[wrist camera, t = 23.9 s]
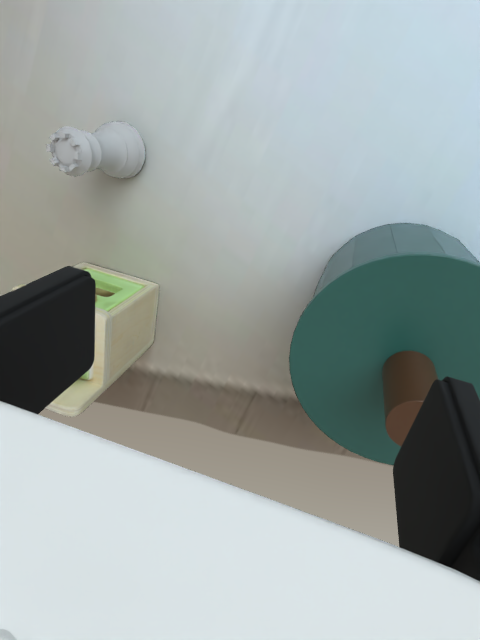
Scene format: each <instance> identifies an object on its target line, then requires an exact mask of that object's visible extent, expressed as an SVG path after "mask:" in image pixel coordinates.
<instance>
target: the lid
mask: <svg viewBox="0 0 480 640" xmlns="http://www.w3.org/2000/svg"><path fill="white" fill-rule="evenodd" d="M289 363H290V374H291V379H292V384H293V387H294V390H295V393H296V395H297V397H298V399H299V401H300V403H301V405H302V407H303V409H304V410H305V412H306V413H307V415H308V416H309V418H310V419H311V420H312V421H313V422H314V423H315V425H316V426H317V427H318V428H319V429H320V430H321V431H323V432H324V433H325V434H326V435H327V436H328V437H329V438H331V439H332V440H334V441H335V442H336V443H338V444H339V445H341V446H343V447H344V448H346V449H348V450H350V451H351V452H354V453H356V454H358V455H360V456H363V457H365V458H368V459H371V460H374V461H377V462H381V463H385V464H390V465H394V462H395V459H396V456H397V454H398V452H399V450H400V448H401V446H402V444H403V442H404V440H405V438H406V436H407V434H408V432H409V430H410V428H411V426H412V424H413V422H414V420H415V418H416V416H417V414H418V412H419V410H420V408H421V406H422V404H423V402H424V400H425V398H426V396H427V394H428V392H429V390H430V388H431V386H432V384H433V382H434V381H435V380H436V379H438V380H441V381H442V380H443V379H444V378H445V377H447V376H448V377H451V378H455V379H458V380H462V381H465V382H468V383H472V384H473V386H474V388H475V390H476V393H477V395H478V397H479V399H480V264H479V263H476V262H473V261H471V260H468V259H465V258H462V257H457V256H453V255H449V254H443V253H433V252H405V253H397V254H390V255H386V256H382V257H378V258H374V259H371V260H368V261H366V262H363V263H361V264H358V265H356V266H354V267H352V268H350V269H348V270H346V271H345V272H343V273H341V274H340V275H338V276H337V277H335V278H334V279H333V280H331V281H330V282H328V283H327V284H326V285H325V286H324V287H323V288H322V289H321V290H320V291H319V292H318V293H317V294H316V295H315V296H314V297H313V299H312V300H311V301H310V302H309V304H308V305H307V307H306V308H305V310H304V311H303V313H302V315H301V316H300V319H299V321H298V323H297V326H296V328H295V331H294V334H293V338H292V342H291V346H290V356H289Z"/></svg>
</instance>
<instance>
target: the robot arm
mask: <svg viewBox="0 0 480 640" xmlns="http://www.w3.org/2000/svg"><path fill="white" fill-rule="evenodd" d="M95 294H96V283H95V280H94V279H93V278H91V274H90V273H89V272H88V271H85V270H81V269H78V268H74V267H71V266H67V267H64V268H62V269H60V270H58V271H55V272H53V273H51V274H49V275H47V276H44V277H42V278H40V279H38V280H36V281H33V282H31V283H29V284H27V285H24V286H22V287H20V288H18V289H16V290H13V291H11V292H9V293H7V294H5V295H2V296H0V640H480V399H479V397H478V395H477V393H476V390H475V388H474V386H473V384H472V383H468V382H465V381H462V380H458V379H455V378H451V377H448V376H447V377H445V378H444V379H443V380H442V381H441V380H438V379H436V380H435V381H434V382H433V384H432V386H431V388H430V390H429V392H428V394H427V396H426V398H425V400H424V402H423V404H422V406H421V408H420V410H419V412H418V414H417V416H416V418H415V420H414V422H413V424H412V426H411V428H410V430H409V432H408V434H407V436H406V438H405V440H404V442H403V444H402V446H401V448H400V450H399V452H398V454H397V456H396V459H395V462H394V467H393V476H394V488H395V500H396V511H397V523H398V534H399V546H400V547H398V546H395V545H393V544H390V543H388V542H385V541H382V540H380V539H377V538H374V537H371V536H369V535H366V534H363V533H361V532H358V531H355V530H353V529H350V528H347V527H345V526H342V525H339V524H336V523H334V522H331V521H328V520H326V519H323V518H320V517H318V516H315V515H312V514H309V513H306V512H304V511H301V510H299V509H296V508H293V507H290V506H288V505H285V504H282V503H280V502H277V501H274V500H271V499H269V498H266V497H263V496H261V495H258V494H255V493H253V492H250V491H247V490H244V489H242V488H238V487H236V486H233V485H231V484H228V483H225V482H222V481H219V480H217V479H214V478H211V477H208V476H206V475H203V474H200V473H197V472H195V471H192V470H189V469H186V468H183V467H181V466H178V465H175V464H173V463H170V462H167V461H164V460H162V459H159V458H156V457H153V456H151V455H148V454H145V453H142V452H140V451H137V450H134V449H131V448H129V447H126V446H123V445H120V444H118V443H115V442H112V441H109V440H107V439H104V438H101V437H99V436H96V435H93V434H90V433H88V432H85V431H82V430H79V429H77V428H74V427H71V426H68V425H66V424H62V423H60V422H57V421H55V420H52V419H49V418H46V417H44V416H41V415H38V414H39V413H40V412H41V411H42V410H43V409H44V408H46V407H47V406H48V405H49V404H50V403H51V402H52V401H54V400H55V399H56V398H57V397H58V396H59V395H61V394H62V393H63V392H64V391H65V390H66V389H68V388H69V387H70V386H71V385H72V384H73V383H74V382H76V381H77V380H78V379H79V378H80V377H81V376H83V375H84V374H85V373H86V372H87V371H88V370H89V369H90V368H91V367H92V365H93V362H94V357H95Z"/></svg>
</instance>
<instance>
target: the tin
mask: <svg viewBox="0 0 480 640" xmlns="http://www.w3.org/2000/svg"><path fill="white" fill-rule="evenodd" d="M405 252H433V253H443V254H449V255H453V256H457V257H462V258H465V259H468V260H471V261H473V262H476V263H479V264H480V262H479V261H478V260H477V259H476V258H475V257H474V256H473V255H472V254H471V253H470V252H469V251H468V250H467V248H466V247H465V246H464V245H463V244H462V243H461V242H460V241H459V240H458V239H456V238H454V237H452V236H450V235H448V234H446V233H444V232H442V231H440V230H438V229H435V228H432V227H429V226H427V225H426V226H425V225H420V224H411V223H397V224H388V225H383V226H380V227H376V228H373V229H370V230H368V231H366V232H363V233H361V234H359V235H357V236H355V237H354V238H353V239H351V240H350V241H349V242H347V243H346V244H345V245H343V246H342V247H341V248H340V249H339V250H338V251H337V252H336V253H335V254H334V255H333V256H332V257H331V259H330V261H329V263H328V265H327V266H326V268H325V270H324V273H323V275H322V276H321V278H320V280H319V282H318V285H317V288H316V291H315V293H314V296H315V295H316V294H317V293H318V292H319V291H320V290H321V289H322V288H323V287H324V286H325V285H326V284H327V283H328V282H330V281H331V280H333V279H334V278H335V277H337V276H338V275H340V274H341V273H343V272H345V271H346V270H348V269H350V268H352V267H354V266H356V265H358V264H361V263H363V262H366V261H368V260H371V259H374V258H378V257H382V256H386V255H390V254H397V253H405ZM314 296H313V297H314Z"/></svg>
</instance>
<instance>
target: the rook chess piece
mask: <svg viewBox="0 0 480 640" xmlns="http://www.w3.org/2000/svg"><path fill="white" fill-rule="evenodd" d="M49 138H50V140H51V141H52V142H51V144H47V152H51V153H52V156H53V158H51V159H49V160H50V162H51V163H52V165H53V166H58V167H59V170H60V171H63V172H65V173H66V174H67V175H70V176H74V177H76V176H81V175H83V174H84V173H85V172H90V171H94V170H95V169H100V170H102V171H103V172H104V173H106V174H107V175H109V176H112V177H116V178H129V177H133V176H134V175H136V174H137V173H138V172H139V171H140V170H141V168H142V166H143V164H144V161H145V147H144V143H143V139H142V138H141V136H140V135H139V133H138V131H137V130H136V129H135V128H134V127H132V126H131V125H130V124H128V123H125V122H121V121H116V122H113V121H112V122H108V123H105V124H102V125H101V126H100V127H99V128H98V129H97V130H96V131H95V132H94V133H92V134H91V133H89V132H87V131H83V130H81V131H79V130H78V129H76V128H73V127H70V126H66V127H62V128H60V129H59V130H58V131H57V132H56V133H53V134H52V135H51V136H50V137H49Z"/></svg>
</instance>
